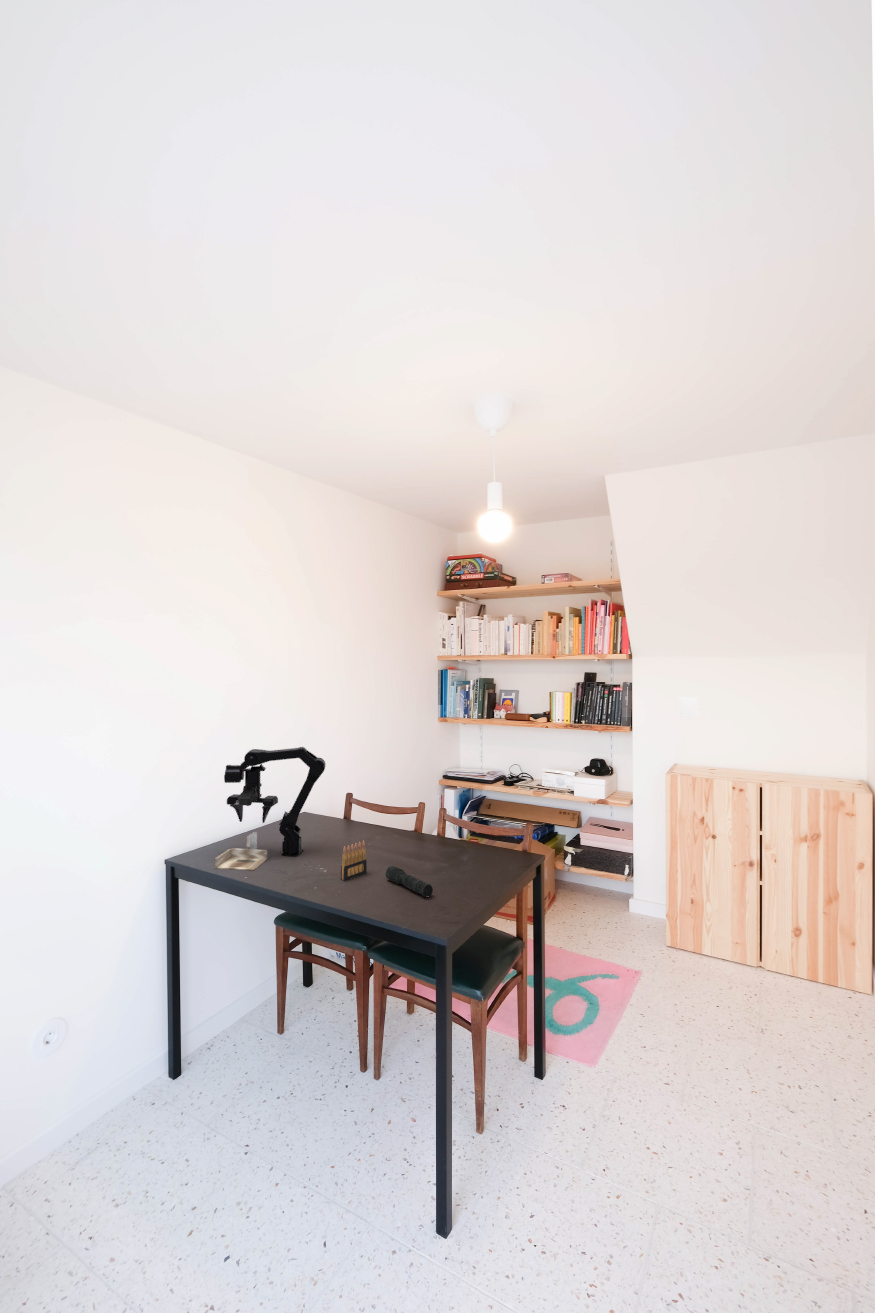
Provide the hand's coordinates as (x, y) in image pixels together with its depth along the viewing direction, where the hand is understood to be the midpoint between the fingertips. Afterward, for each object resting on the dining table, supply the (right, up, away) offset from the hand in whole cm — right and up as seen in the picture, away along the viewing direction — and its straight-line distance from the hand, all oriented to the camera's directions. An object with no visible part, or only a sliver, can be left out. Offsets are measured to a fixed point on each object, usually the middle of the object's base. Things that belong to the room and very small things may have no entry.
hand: (252, 822), depth 229 cm
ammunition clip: (+43, -14, -21) cm, 49 cm away
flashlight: (+63, -14, -30) cm, 71 cm away
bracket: (-3, -13, 0) cm, 13 cm away
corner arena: (-1, -13, -10) cm, 16 cm away
